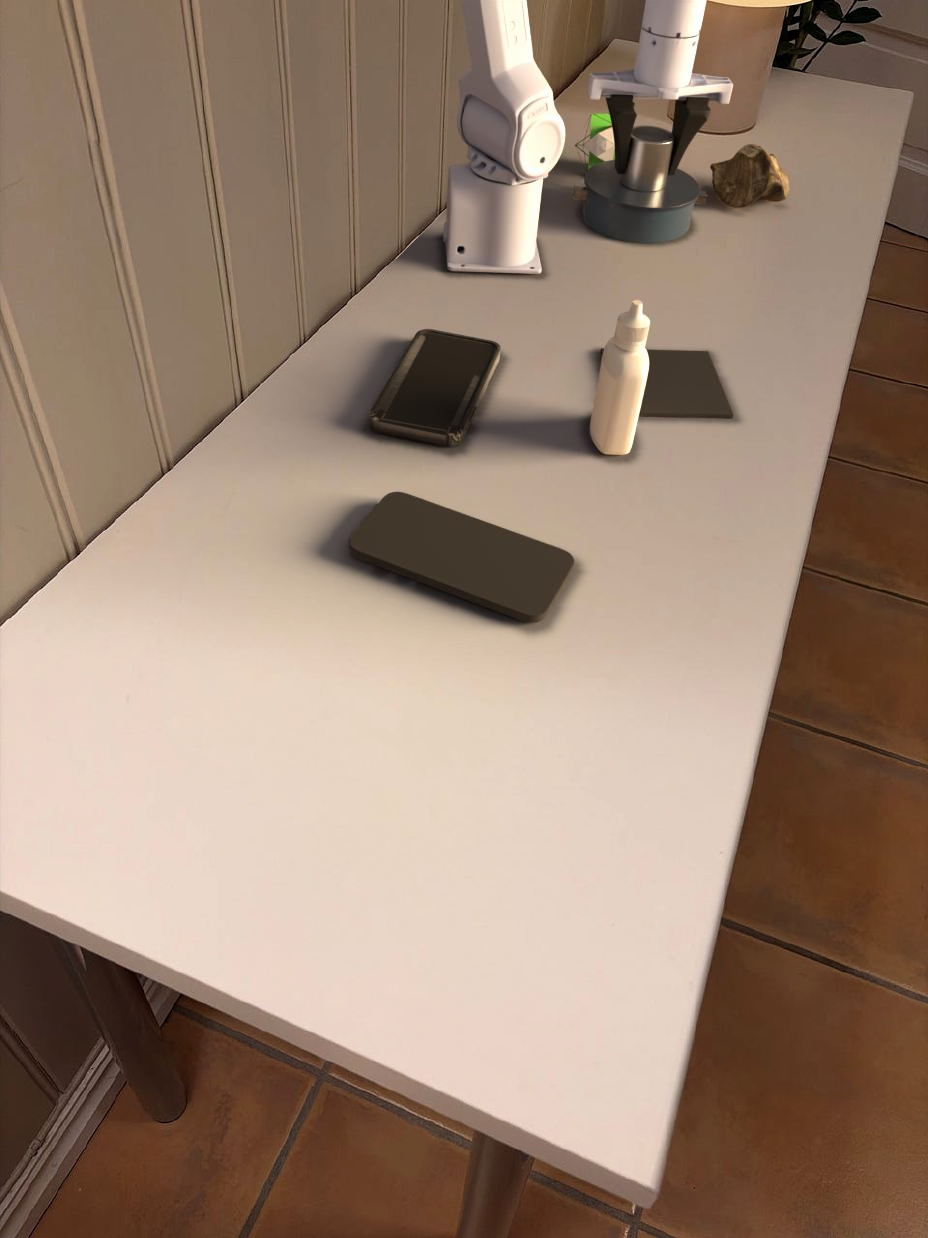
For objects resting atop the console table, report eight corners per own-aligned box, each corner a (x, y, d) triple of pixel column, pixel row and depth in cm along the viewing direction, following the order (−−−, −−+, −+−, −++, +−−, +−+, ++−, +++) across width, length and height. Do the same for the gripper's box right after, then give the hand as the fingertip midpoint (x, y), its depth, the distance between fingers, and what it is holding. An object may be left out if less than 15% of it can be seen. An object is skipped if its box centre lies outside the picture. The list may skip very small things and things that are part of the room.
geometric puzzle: (569, 136, 119) (583, 94, 111) (624, 137, 120) (642, 95, 112) (572, 192, 118) (587, 153, 110) (628, 192, 119) (647, 154, 111)
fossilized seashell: (777, 160, 117) (695, 175, 116) (795, 122, 110) (708, 138, 110) (793, 216, 115) (710, 232, 115) (812, 181, 109) (724, 197, 109)
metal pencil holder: (623, 191, 105) (631, 142, 101) (616, 171, 108) (624, 123, 104) (669, 192, 105) (679, 144, 101) (660, 173, 108) (670, 125, 105)
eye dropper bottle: (573, 446, 79) (596, 310, 71) (598, 411, 83) (622, 278, 74) (623, 463, 78) (653, 327, 70) (646, 427, 82) (677, 294, 73)
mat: (616, 415, 83) (617, 411, 82) (600, 351, 90) (600, 347, 89) (732, 418, 84) (733, 414, 83) (707, 354, 90) (708, 350, 90)
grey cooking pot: (577, 242, 105) (583, 204, 102) (564, 191, 113) (568, 156, 110) (711, 246, 106) (721, 210, 103) (688, 196, 114) (696, 161, 111)
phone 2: (540, 621, 65) (341, 545, 68) (538, 630, 65) (341, 554, 69) (579, 554, 69) (391, 486, 73) (577, 562, 70) (391, 495, 74)
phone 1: (365, 418, 78) (419, 326, 88) (365, 430, 79) (419, 337, 89) (460, 438, 77) (504, 342, 87) (459, 449, 78) (503, 353, 88)
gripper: (605, 39, 92) (584, 184, 102) (753, 45, 94) (719, 188, 104) (592, 16, 97) (573, 157, 107) (734, 22, 99) (702, 160, 108)
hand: (644, 170), depth 106 cm, fingers closed on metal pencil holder, 5 cm apart
